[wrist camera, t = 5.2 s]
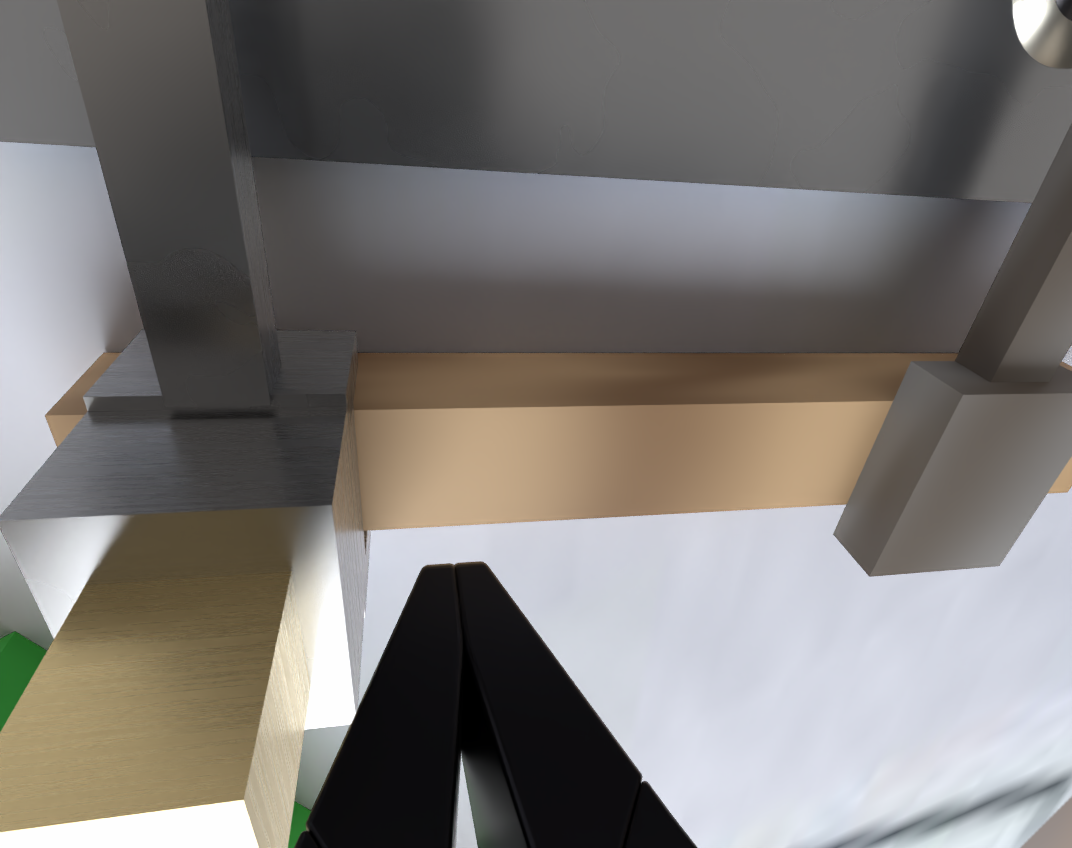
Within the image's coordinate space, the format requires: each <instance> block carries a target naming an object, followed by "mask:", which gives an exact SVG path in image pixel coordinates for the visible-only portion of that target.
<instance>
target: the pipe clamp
mask: <svg viewBox="0 0 1072 848" xmlns="http://www.w3.org/2000/svg"><path fill="white" fill-rule="evenodd" d="M46 652H47V650H45V649H43V648H42V647H40V646H38V645H37V644H35V643H33V642H32V641H30V640H28V639H27V638H25V637H24V636H22V635H20V634H19V633H17V632H13V633H11V634H9V635H7V636H5V637H3V638H1V639H0V732H1V730H2V729H3V727H4V725H5V723H6V722H7V720H8V718H9V716H10V715H11V713H12V711H13V710H14V708H15V706H16V704H17V703H18V701H19V699H20V697H21V696H22V694H23V692H24V690H25V689H26V687H27V685H28V684H29V682H30V680H31V678H32V677H33V675H34V673H35V671H36V670H37V668H38V666H39V664H40V663H41V661H42V659H43V657H44V656H45V654H46ZM310 813H311V811H310V810H309V809H307V808H305V807H304V806H302V805H301V804H299V803H297V802H296V801H294V807H293V814H292V821H291V828H290V835H289V842H288V848H294V847H295V845H296V842H297V840H298V838H299V836H300V834H301V833H302V832H303V831H305V830H306V821H307V819H308V817H309V815H310ZM306 831H307V830H306Z"/></svg>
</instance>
